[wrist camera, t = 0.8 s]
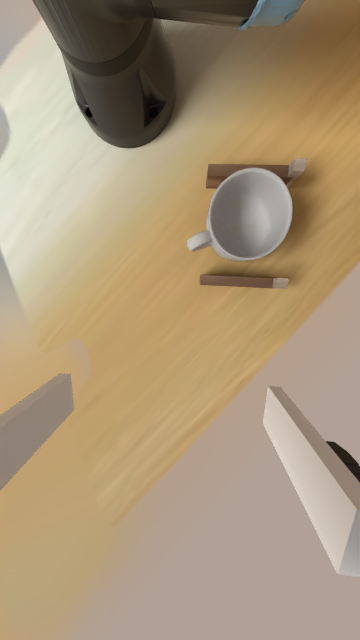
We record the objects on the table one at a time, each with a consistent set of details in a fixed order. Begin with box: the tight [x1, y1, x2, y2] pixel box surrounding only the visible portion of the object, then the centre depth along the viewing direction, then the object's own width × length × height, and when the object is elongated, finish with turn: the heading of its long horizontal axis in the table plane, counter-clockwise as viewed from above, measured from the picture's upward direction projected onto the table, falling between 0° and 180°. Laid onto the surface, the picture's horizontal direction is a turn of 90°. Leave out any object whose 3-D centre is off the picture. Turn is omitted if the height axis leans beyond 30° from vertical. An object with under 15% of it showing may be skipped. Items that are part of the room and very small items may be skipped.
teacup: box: [187, 168, 293, 261], centre depth 28 cm, size 14×11×8 cm
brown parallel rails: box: [200, 158, 307, 289], centre depth 29 cm, size 17×13×5 cm
